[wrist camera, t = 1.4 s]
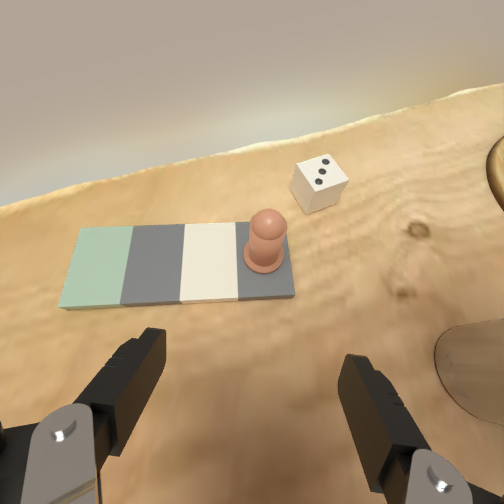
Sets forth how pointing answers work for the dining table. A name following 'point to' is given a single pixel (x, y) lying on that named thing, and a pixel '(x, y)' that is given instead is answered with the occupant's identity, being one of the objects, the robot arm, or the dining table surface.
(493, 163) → the wooden plate with food
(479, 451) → the dining table surface
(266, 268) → the pawn
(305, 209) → the die
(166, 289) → the board
